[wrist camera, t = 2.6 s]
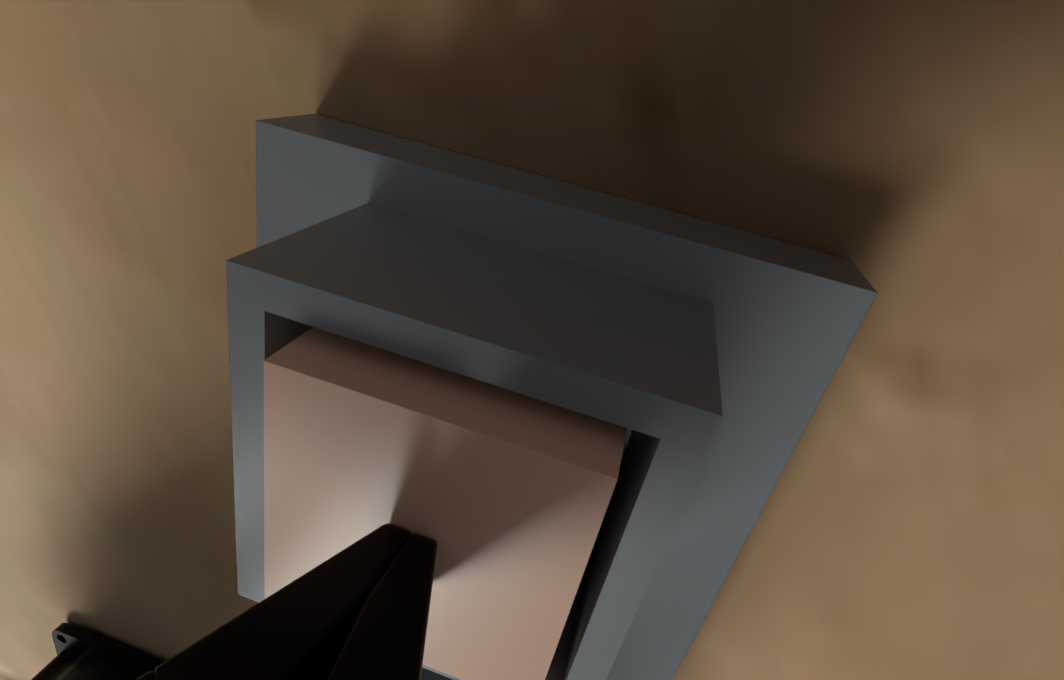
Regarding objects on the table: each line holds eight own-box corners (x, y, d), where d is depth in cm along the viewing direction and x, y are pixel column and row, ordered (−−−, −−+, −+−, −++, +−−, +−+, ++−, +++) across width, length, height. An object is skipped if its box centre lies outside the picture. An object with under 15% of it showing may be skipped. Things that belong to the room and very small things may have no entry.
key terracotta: (352, 493, 13) (264, 601, 10) (370, 288, 11) (263, 360, 8) (568, 571, 12) (534, 708, 10) (637, 370, 10) (617, 479, 7)
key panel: (294, 687, 23) (177, 867, 18) (314, 113, 13) (63, 142, 8) (581, 805, 22) (545, 1039, 17) (849, 259, 12) (977, 413, 6)
